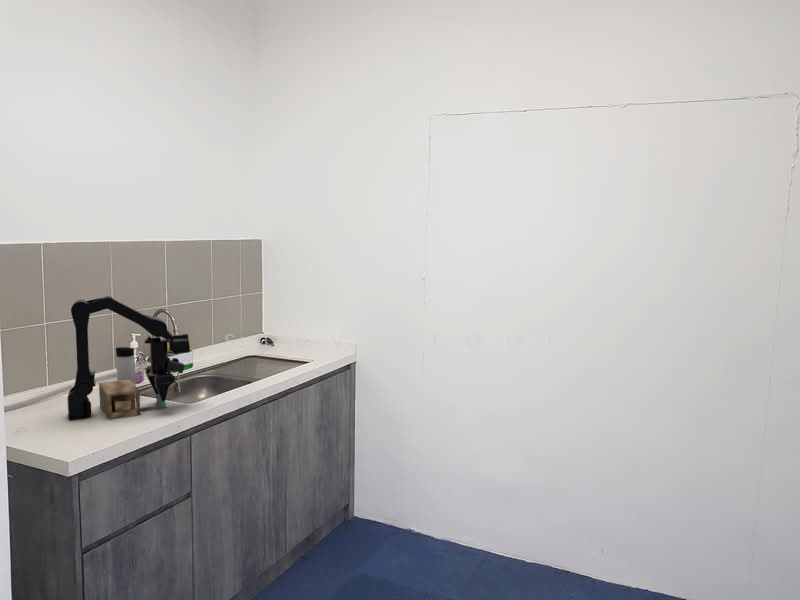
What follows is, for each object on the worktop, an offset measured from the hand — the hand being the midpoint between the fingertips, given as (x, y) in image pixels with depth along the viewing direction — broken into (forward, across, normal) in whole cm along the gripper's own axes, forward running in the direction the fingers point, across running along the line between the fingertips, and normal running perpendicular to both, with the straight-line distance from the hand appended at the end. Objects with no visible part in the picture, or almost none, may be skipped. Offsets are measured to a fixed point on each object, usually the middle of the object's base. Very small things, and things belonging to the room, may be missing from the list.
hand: (160, 397), depth 225 cm
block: (+4, 0, +7) cm, 8 cm away
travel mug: (+4, +19, +8) cm, 21 cm away
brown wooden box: (+4, +4, +13) cm, 14 cm away
